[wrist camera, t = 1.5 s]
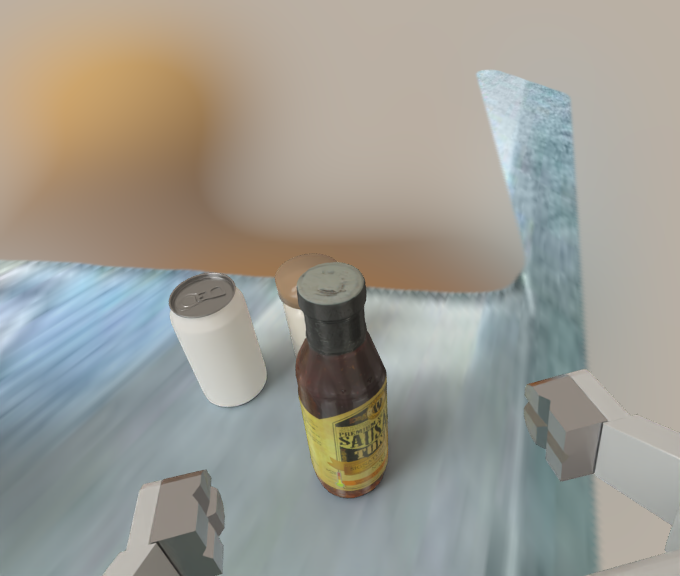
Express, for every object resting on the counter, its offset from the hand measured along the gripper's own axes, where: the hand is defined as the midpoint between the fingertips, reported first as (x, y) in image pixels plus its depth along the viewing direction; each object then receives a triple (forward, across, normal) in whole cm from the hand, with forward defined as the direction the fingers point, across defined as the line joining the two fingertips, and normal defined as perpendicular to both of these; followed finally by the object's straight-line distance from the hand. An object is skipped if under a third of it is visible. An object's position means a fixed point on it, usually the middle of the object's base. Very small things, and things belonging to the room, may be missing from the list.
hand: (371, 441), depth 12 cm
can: (+29, +11, +22) cm, 38 cm away
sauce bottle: (+18, +1, +24) cm, 30 cm away
